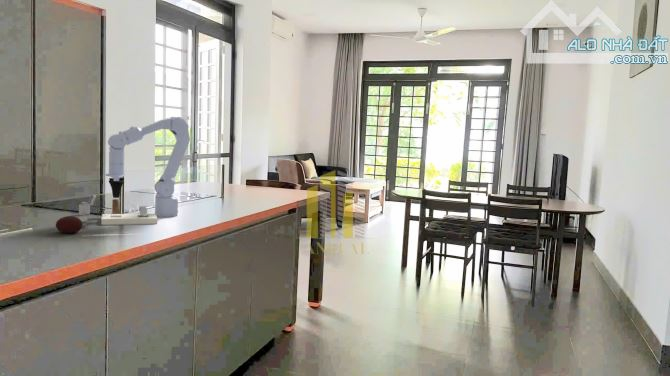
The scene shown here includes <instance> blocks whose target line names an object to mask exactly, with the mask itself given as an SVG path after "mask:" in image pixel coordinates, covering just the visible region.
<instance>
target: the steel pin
mask: <svg viewBox="0 0 670 376" xmlns="http://www.w3.org/2000/svg"><path fill="white" fill-rule="evenodd" d="M139 214H140V216H139V217H147V214H148V206H146V205H145V206H143V205H142V206H139Z"/></svg>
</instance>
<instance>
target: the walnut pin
mask: <svg viewBox="0 0 670 376" xmlns="http://www.w3.org/2000/svg"><path fill="white" fill-rule="evenodd" d="M111 201H112V202H111V203H112V209H111V214H121V213H120V212H121V210H120V209H121V207H120V205H121V199H119V198H113V199H112V200H111Z"/></svg>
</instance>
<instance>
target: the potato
mask: <svg viewBox="0 0 670 376" xmlns="http://www.w3.org/2000/svg"><path fill="white" fill-rule="evenodd" d="M83 224H84V223H83V221H82V220H81V219H80V218H79V217H76V216H74V215H73V216H72V215H69V216H68V215H67V216H63V217H61V218H58V220H57V221H56V222H55V227H56V230H58V232H61V233H64V234H65V233H66V234H74V233H78V232H79V231H81V230H82V228H83V226H84V225H83Z"/></svg>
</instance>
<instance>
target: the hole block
mask: <svg viewBox="0 0 670 376" xmlns="http://www.w3.org/2000/svg"><path fill="white" fill-rule="evenodd" d="M139 216H140V213H120V214H112V213H105V214H104V213H103V214H101V223H100V224H101V226H108V225H109V226H112V225H113V226H114V225H116V226H117V225H119V226H120V225H122V226H123V225H157V224H158V216H156V214H155V213H147V217H139Z"/></svg>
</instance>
